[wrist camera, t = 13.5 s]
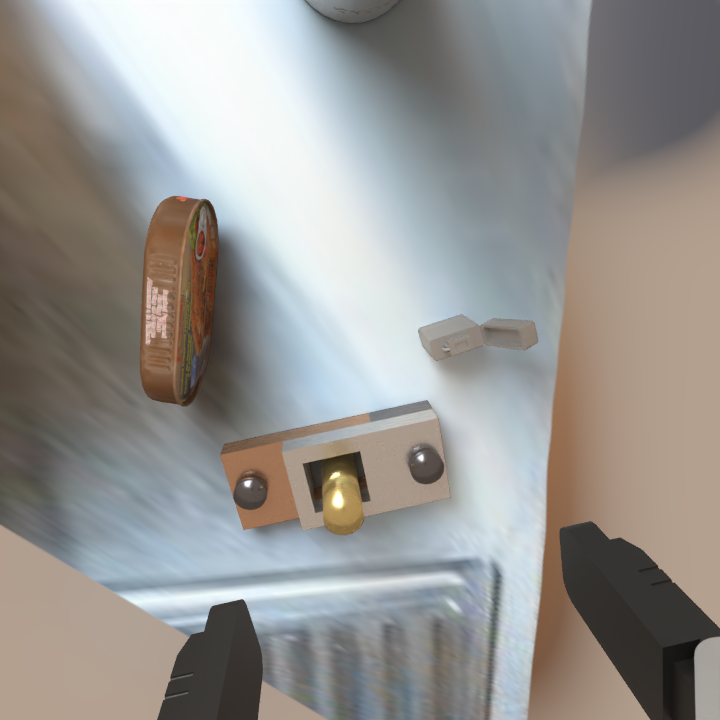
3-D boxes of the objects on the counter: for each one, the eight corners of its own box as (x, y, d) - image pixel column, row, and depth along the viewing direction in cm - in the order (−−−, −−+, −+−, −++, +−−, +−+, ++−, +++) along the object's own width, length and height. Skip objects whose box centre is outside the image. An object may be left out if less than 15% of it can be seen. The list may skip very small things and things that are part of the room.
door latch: (224, 444, 43) (213, 472, 38) (427, 400, 43) (441, 423, 39) (246, 516, 45) (238, 552, 40) (439, 473, 46) (453, 503, 41)
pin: (317, 448, 44) (319, 504, 35) (350, 441, 44) (359, 495, 35) (325, 476, 45) (327, 539, 36) (356, 469, 45) (367, 530, 36)
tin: (207, 385, 41) (181, 426, 33) (168, 380, 41) (133, 420, 33) (223, 201, 37) (198, 198, 29) (180, 194, 37) (143, 188, 29)
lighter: (422, 347, 42) (447, 376, 34) (417, 328, 41) (441, 354, 34) (500, 321, 42) (542, 345, 34) (496, 302, 42) (537, 322, 34)
